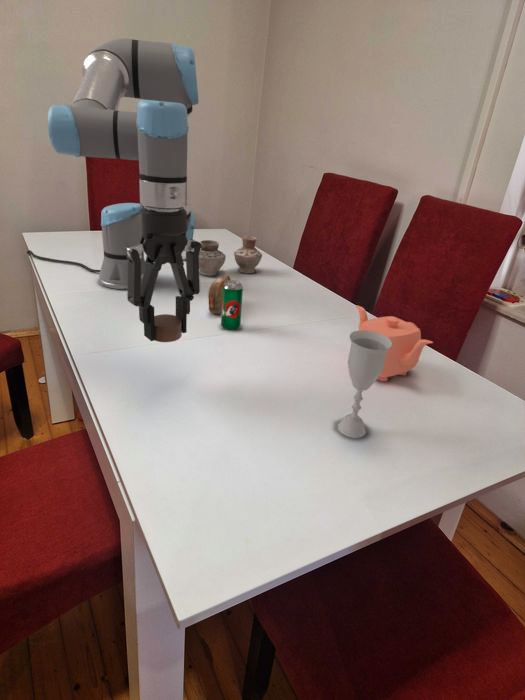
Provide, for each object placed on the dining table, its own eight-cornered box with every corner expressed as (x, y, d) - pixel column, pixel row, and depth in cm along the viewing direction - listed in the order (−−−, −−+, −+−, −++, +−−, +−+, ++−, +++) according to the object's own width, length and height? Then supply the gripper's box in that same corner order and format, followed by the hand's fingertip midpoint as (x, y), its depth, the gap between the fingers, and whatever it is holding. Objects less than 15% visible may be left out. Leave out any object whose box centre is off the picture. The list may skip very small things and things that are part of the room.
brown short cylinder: (143, 332, 85) (142, 318, 84) (171, 326, 89) (171, 311, 88) (159, 345, 81) (158, 330, 80) (187, 337, 85) (187, 323, 84)
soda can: (244, 327, 118) (247, 283, 112) (230, 332, 114) (232, 287, 109) (231, 321, 120) (233, 278, 115) (216, 326, 117) (218, 281, 112)
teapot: (419, 392, 95) (434, 338, 90) (340, 376, 99) (350, 323, 93) (416, 361, 108) (430, 313, 103) (347, 348, 112) (356, 300, 106)
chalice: (328, 416, 85) (344, 329, 76) (364, 417, 85) (383, 331, 77) (338, 441, 78) (356, 349, 70) (375, 442, 79) (398, 350, 71)
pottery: (266, 275, 159) (269, 241, 154) (198, 279, 149) (198, 243, 143) (252, 265, 168) (255, 233, 163) (187, 269, 158) (188, 235, 152)
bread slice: (217, 318, 121) (218, 288, 118) (205, 316, 122) (206, 287, 118) (231, 300, 135) (233, 272, 131) (221, 298, 135) (222, 271, 131)
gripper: (119, 215, 66) (127, 354, 77) (223, 208, 78) (218, 330, 88) (98, 205, 71) (108, 337, 82) (199, 200, 83) (197, 316, 93)
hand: (165, 333), depth 85 cm, fingers closed on brown short cylinder, 6 cm apart
